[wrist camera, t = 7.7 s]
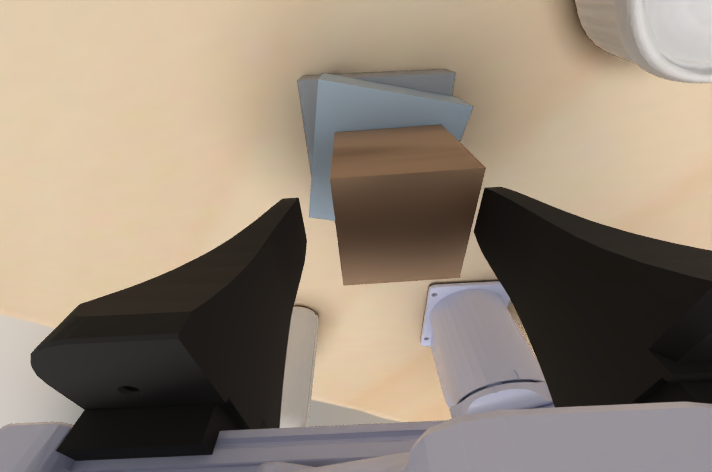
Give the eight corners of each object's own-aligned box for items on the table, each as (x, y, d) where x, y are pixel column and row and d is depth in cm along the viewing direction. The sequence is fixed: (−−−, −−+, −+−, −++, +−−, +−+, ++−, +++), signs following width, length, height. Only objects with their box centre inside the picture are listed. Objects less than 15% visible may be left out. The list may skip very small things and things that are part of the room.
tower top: (417, 210, 18) (425, 231, 16) (313, 196, 18) (308, 217, 16) (455, 96, 14) (473, 106, 12) (322, 72, 14) (318, 79, 12)
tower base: (426, 192, 20) (434, 209, 18) (320, 197, 21) (316, 214, 18) (442, 68, 16) (455, 72, 14) (303, 74, 16) (297, 80, 14)
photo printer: (301, 361, 33) (280, 503, 23) (265, 356, 32) (227, 501, 22) (325, 309, 27) (311, 466, 17) (282, 300, 26) (241, 461, 16)
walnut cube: (430, 214, 16) (459, 277, 12) (343, 220, 16) (343, 285, 12) (441, 124, 13) (485, 168, 9) (334, 132, 13) (329, 178, 9)
